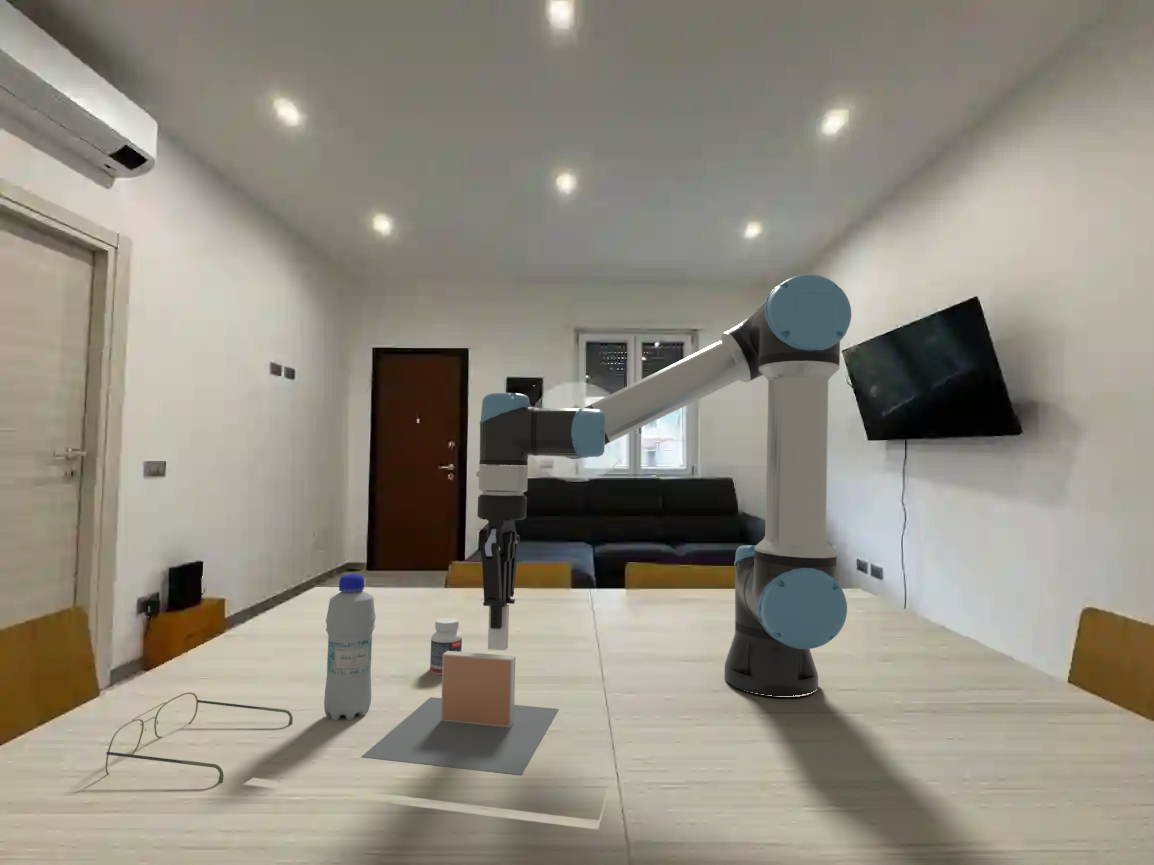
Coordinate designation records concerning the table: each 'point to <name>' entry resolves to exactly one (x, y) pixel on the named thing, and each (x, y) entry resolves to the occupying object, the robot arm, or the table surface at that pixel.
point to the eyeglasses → (188, 723)
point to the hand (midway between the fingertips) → (497, 648)
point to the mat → (465, 740)
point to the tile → (478, 688)
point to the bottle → (349, 649)
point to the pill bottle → (444, 642)
